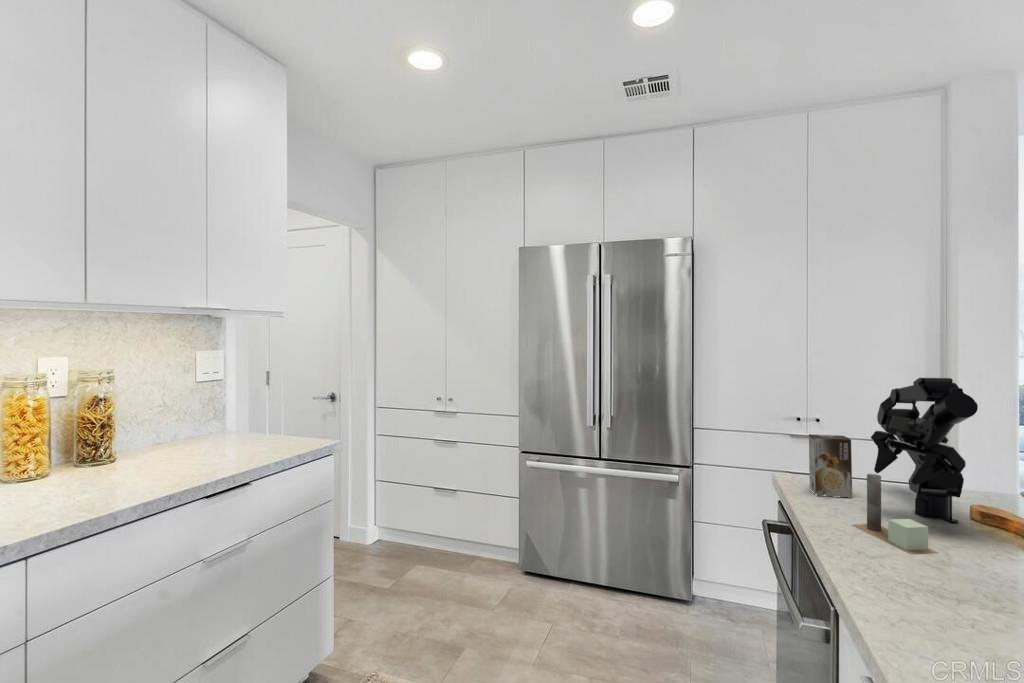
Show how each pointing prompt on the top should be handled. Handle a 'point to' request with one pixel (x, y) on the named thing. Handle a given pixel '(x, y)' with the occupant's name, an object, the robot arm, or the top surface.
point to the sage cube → (908, 534)
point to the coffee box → (830, 465)
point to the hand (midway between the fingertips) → (893, 477)
